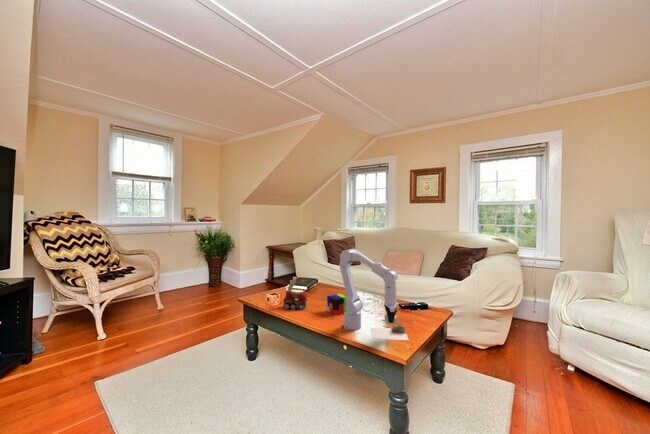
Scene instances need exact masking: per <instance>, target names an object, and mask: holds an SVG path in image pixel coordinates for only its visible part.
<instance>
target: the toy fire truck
mask: <svg viewBox="0 0 650 434" xmlns="http://www.w3.org/2000/svg"><path fill="white" fill-rule="evenodd" d="M296 281H297V280H296V279H291V280H290V283H289V285H288V288H287V290H285V297H284V298H283V308H284V309H285V310H289V309H291V310H292V309H294V310H296V309H298V310H300V311H303V310H304V309H305V308H307V306H308V297H307V294H306V293H305V292H304V291H300V292H293V291H292V290H293V288H294V286H295V283H296Z"/></svg>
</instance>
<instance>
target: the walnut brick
mask: <svg viewBox="0 0 650 434" xmlns="http://www.w3.org/2000/svg"><path fill="white" fill-rule="evenodd" d="M392 328H393V331H394V332H401V333H405V331H406V327H405V325H404V323H397V324H392Z"/></svg>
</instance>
